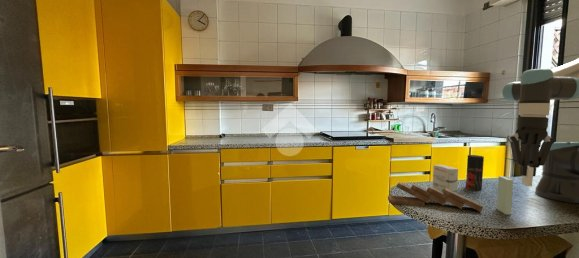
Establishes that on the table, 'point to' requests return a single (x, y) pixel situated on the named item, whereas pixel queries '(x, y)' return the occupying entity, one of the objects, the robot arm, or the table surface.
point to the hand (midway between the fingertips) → (526, 185)
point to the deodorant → (474, 172)
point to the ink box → (445, 178)
